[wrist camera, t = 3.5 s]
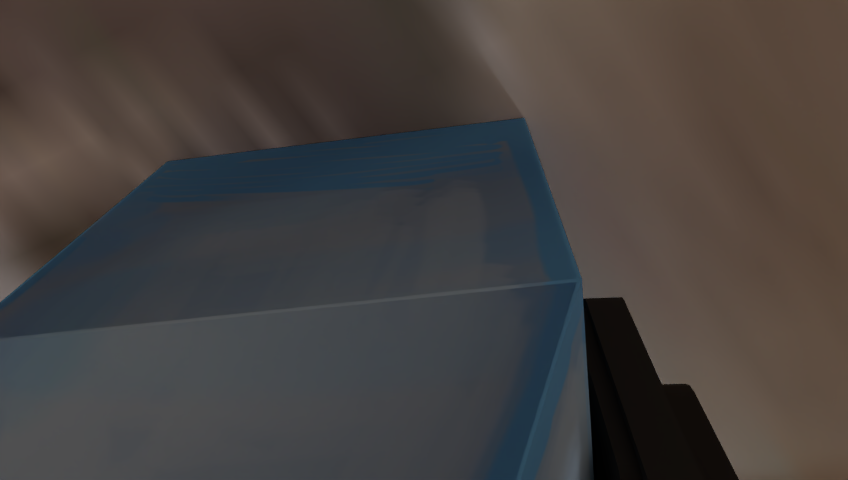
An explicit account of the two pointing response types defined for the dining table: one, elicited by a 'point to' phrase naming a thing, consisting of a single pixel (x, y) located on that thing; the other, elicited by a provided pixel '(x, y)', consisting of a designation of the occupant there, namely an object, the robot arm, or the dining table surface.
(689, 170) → the dining table surface
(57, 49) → the dining table surface
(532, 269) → the perfume bottle
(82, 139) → the dining table surface
